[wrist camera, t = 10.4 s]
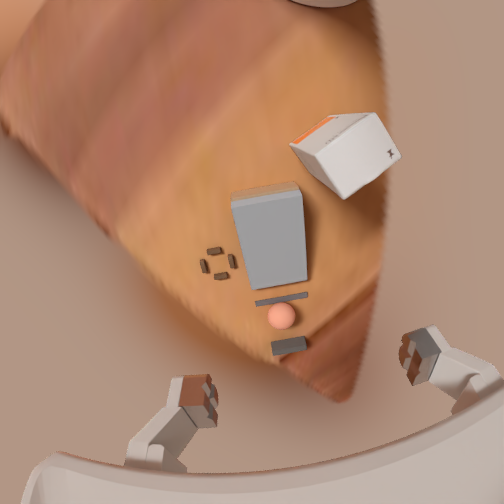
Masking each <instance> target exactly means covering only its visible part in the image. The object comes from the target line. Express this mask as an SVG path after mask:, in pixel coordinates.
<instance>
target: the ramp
mask: <svg viewBox="0 0 504 504" xmlns="http://www.w3.org/2000/svg"><path fill="white" fill-rule="evenodd" d="M231 209H232V213H233V217H234V221H235V225H236V229H237V233H238V237H239V241H240V245H241V249H242V253H243V257H244V261H245V265H246V269H247V273H248V277H249V281H250V285H251V289H252V290H255V289H260V288H266V287H272V286H277V285H283V284H288V283H294V282H299V281H304V280H307V262H306V243H305V226H304V212H303V199H302V194H301V192H300V190H299V187H298V186H297V184H296V183H295V182H294V181H293V182H287V183H281V184H275V185H269V186H263V187H258V188H252V189H247V190H241V191H236V192H232V193H231Z"/></svg>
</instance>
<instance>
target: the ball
mask: <svg viewBox="0 0 504 504" xmlns="http://www.w3.org/2000/svg"><path fill="white" fill-rule="evenodd" d="M268 320H269V323H270V324H271V325H272V326H273V327H274V328H276V329H279V330H284V329H287V328H289V327H290V326H291V325H292V324H293V323H294V321H295V311H294V309H293V308H292V307H291V306H290V305H289V304H287V303H283V302H281V303H276V304H274V305H273V306H272V307H271V308H270V310H269V312H268Z"/></svg>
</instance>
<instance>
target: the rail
mask: <svg viewBox="0 0 504 504" xmlns="http://www.w3.org/2000/svg"><path fill="white" fill-rule="evenodd" d="M271 346H272V353H273V356H275V355H281V354H287V353H292V352H297V351H303V350H307V345H306V341H305V338H304V336H301V337H296V338H291V339H285V340H280V341H274V342H271Z"/></svg>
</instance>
